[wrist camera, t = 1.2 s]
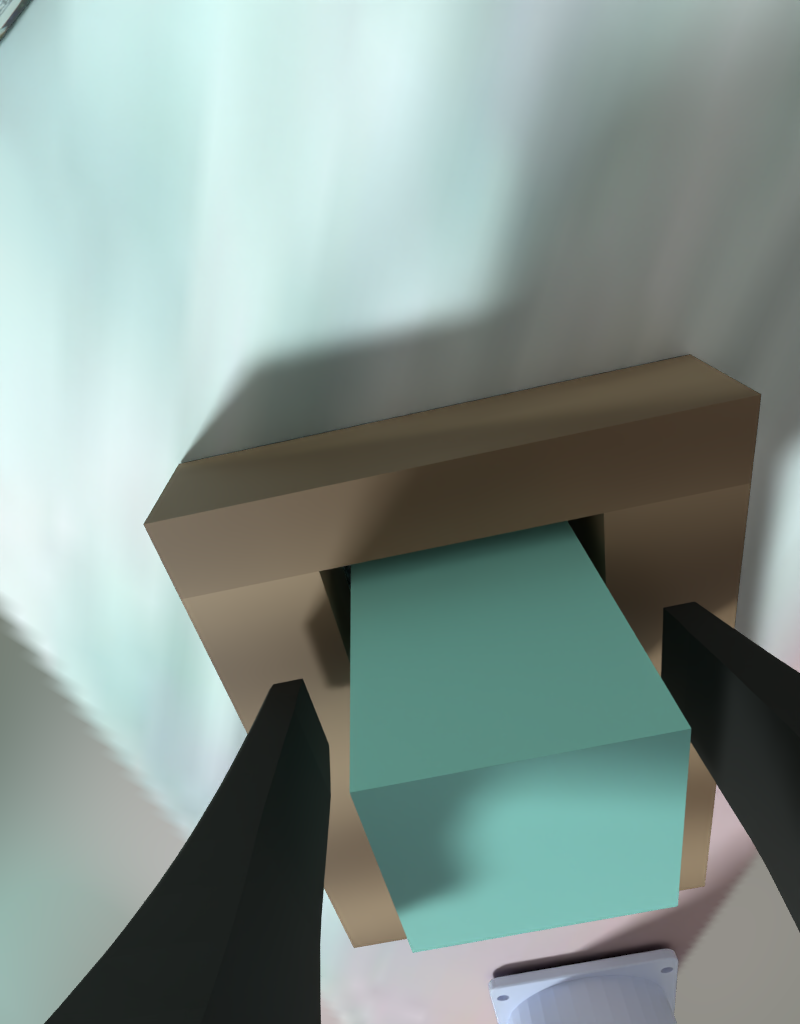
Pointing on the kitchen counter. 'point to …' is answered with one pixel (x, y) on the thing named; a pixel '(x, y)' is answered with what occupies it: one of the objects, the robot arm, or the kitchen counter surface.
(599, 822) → the teal block
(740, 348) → the kitchen counter surface
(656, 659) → the pocket plate
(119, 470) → the kitchen counter surface
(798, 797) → the robot arm
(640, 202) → the kitchen counter surface
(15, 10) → the syrup box
